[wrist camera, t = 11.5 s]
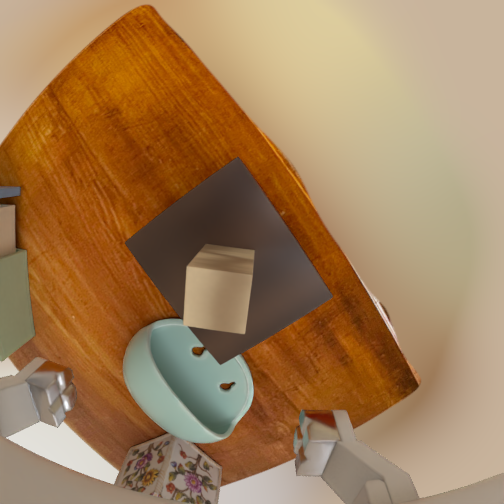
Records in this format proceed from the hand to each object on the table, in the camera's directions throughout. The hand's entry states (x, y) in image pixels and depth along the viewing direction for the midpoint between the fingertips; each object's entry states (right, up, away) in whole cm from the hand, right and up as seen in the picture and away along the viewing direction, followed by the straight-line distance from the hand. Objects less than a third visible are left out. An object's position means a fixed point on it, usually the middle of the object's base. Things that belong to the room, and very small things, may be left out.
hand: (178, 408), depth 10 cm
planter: (-6, -12, +31) cm, 33 cm away
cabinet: (-36, 0, +29) cm, 46 cm away
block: (0, +4, +17) cm, 17 cm away
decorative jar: (-10, -29, +35) cm, 46 cm away
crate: (+1, +6, +26) cm, 27 cm away
